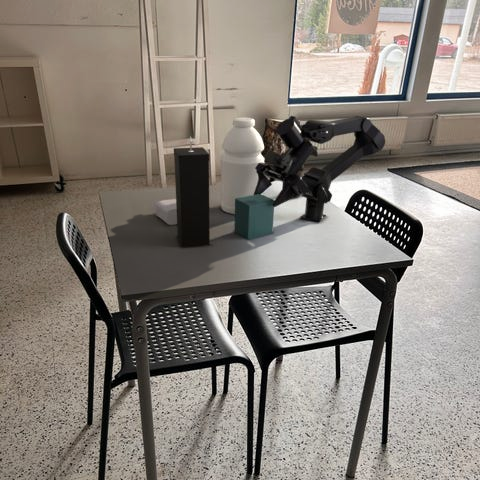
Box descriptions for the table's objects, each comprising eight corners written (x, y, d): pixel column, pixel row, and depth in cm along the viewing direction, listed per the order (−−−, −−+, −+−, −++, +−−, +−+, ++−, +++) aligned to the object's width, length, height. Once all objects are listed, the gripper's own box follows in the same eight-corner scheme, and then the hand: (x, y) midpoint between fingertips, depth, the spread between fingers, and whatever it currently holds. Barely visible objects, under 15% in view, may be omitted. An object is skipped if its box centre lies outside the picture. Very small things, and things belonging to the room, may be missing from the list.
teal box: (258, 225, 152) (260, 193, 147) (272, 233, 147) (274, 200, 142) (234, 231, 147) (234, 198, 142) (247, 239, 143) (249, 205, 137)
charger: (174, 206, 165) (194, 220, 154) (148, 210, 161) (167, 225, 150) (173, 192, 162) (194, 205, 152) (147, 196, 158) (166, 210, 147)
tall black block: (182, 247, 136) (177, 141, 121) (177, 236, 143) (172, 135, 128) (209, 245, 138) (209, 140, 123) (204, 234, 144) (202, 134, 130)
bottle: (212, 206, 166) (211, 117, 151) (244, 199, 173) (247, 113, 159) (237, 218, 157) (239, 125, 142) (270, 210, 164) (276, 120, 149)
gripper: (261, 133, 145) (229, 176, 145) (304, 146, 132) (268, 193, 132) (280, 158, 153) (250, 199, 153) (322, 172, 140) (289, 217, 140)
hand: (263, 201), depth 144 cm, fingers open, 9 cm apart
